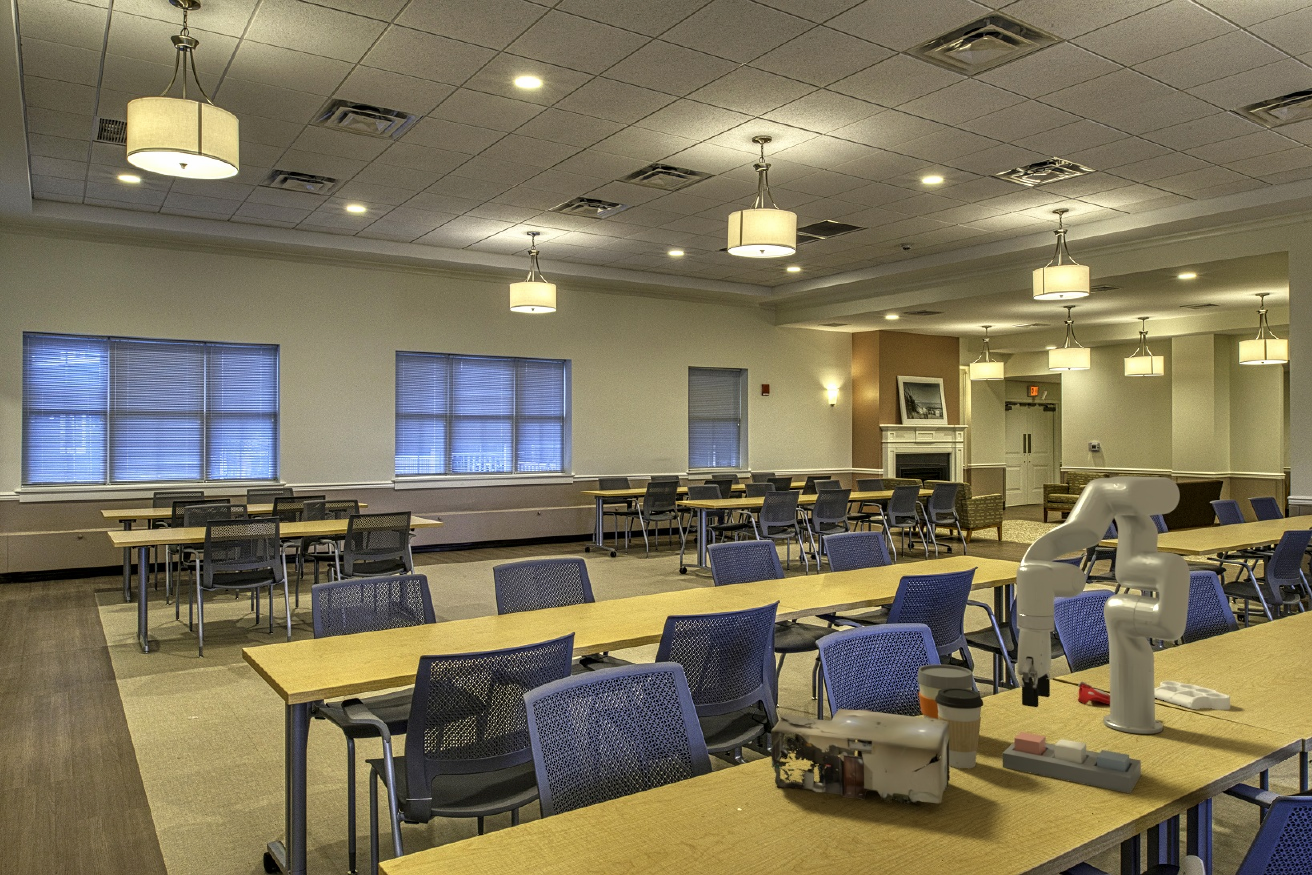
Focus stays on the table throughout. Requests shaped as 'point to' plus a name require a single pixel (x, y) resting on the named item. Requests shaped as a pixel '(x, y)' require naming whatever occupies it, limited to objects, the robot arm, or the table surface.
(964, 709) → the coffee cup
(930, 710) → the reusable coffee cup
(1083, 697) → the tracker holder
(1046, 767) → the keypad base
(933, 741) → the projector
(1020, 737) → the brick-red key
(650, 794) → the table surface
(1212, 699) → the white egg tray
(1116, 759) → the slate-blue key
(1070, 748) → the off-white key
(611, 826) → the table surface
